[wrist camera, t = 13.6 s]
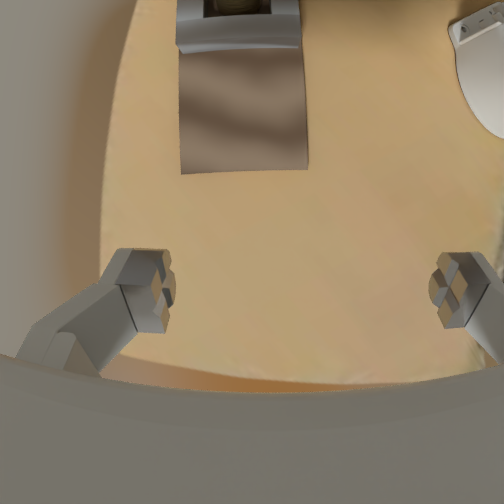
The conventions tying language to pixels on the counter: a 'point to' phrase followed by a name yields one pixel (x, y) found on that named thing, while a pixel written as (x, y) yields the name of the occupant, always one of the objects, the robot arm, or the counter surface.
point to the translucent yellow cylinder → (238, 7)
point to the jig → (241, 88)
